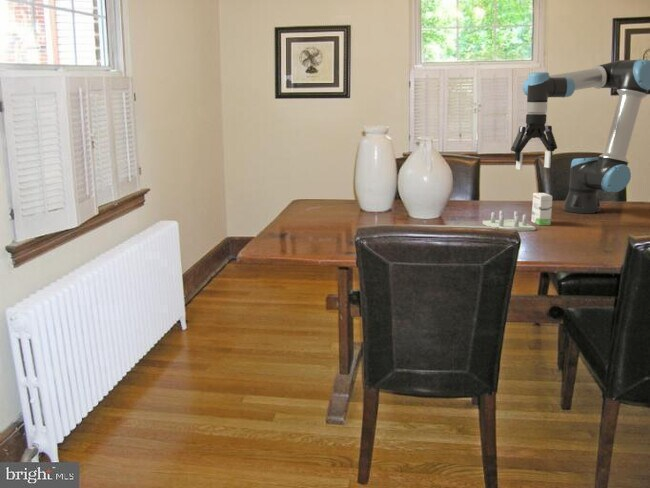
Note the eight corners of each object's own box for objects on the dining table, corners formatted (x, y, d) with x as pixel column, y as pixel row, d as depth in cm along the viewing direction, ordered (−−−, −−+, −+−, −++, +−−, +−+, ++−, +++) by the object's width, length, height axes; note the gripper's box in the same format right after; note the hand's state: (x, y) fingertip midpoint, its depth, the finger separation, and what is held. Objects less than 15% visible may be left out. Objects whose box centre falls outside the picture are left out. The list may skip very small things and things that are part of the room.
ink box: (551, 225, 275) (553, 195, 272) (538, 225, 274) (541, 195, 272) (542, 221, 283) (544, 192, 280) (530, 221, 282) (532, 192, 280)
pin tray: (515, 222, 280) (515, 209, 279) (535, 230, 265) (536, 216, 264) (482, 223, 277) (483, 210, 276) (501, 231, 262) (502, 218, 261)
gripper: (555, 112, 278) (552, 165, 283) (503, 113, 269) (500, 169, 274) (569, 113, 271) (565, 167, 276) (515, 114, 262) (512, 171, 267)
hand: (533, 168), depth 275 cm, fingers open, 13 cm apart
